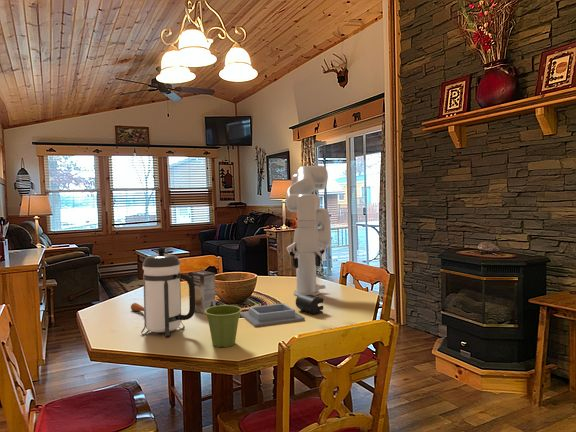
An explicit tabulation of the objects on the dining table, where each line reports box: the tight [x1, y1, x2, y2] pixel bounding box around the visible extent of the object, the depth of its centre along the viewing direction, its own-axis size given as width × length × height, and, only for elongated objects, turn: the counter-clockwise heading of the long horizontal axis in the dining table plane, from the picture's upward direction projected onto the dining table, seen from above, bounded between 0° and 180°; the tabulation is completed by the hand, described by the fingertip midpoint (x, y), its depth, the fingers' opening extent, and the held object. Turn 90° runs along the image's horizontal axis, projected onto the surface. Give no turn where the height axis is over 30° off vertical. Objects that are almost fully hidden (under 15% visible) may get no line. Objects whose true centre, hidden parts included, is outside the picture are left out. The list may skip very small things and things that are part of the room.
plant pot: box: [205, 304, 243, 348], centre depth 140 cm, size 12×12×11 cm
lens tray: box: [240, 303, 306, 328], centre depth 170 cm, size 20×18×4 cm
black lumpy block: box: [295, 294, 324, 316], centre depth 178 cm, size 10×7×7 cm
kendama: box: [130, 302, 144, 312], centre depth 176 cm, size 6×6×20 cm
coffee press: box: [140, 246, 196, 338], centre depth 153 cm, size 17×16×30 cm
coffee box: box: [190, 270, 216, 315], centre depth 182 cm, size 9×6×16 cm
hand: (306, 266), depth 177 cm, fingers open, 9 cm apart
